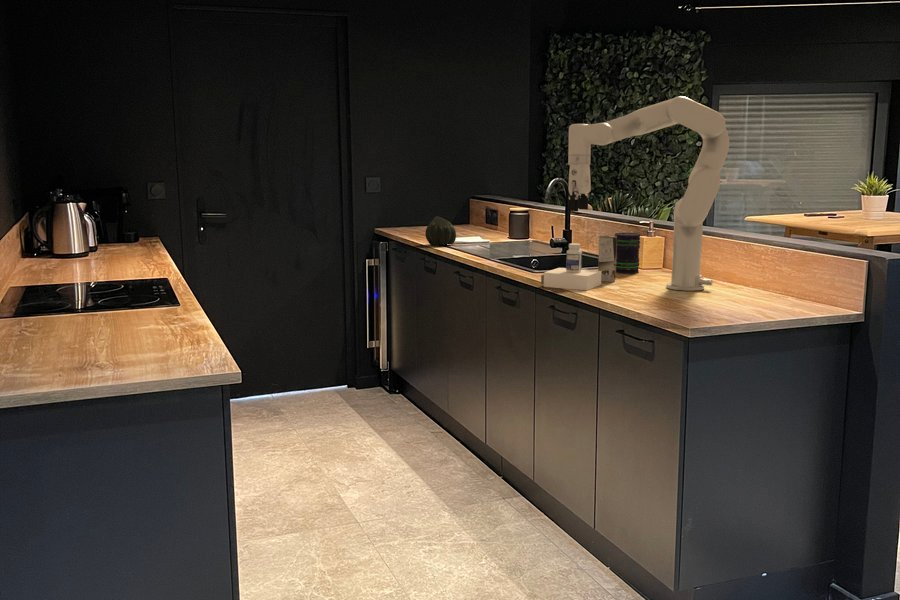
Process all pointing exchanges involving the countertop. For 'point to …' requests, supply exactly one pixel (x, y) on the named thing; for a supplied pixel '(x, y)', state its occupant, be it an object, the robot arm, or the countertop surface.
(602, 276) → the coffee box
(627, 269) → the storage jar
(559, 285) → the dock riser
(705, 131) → the robot arm
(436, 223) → the squash
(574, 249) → the pill bottle
